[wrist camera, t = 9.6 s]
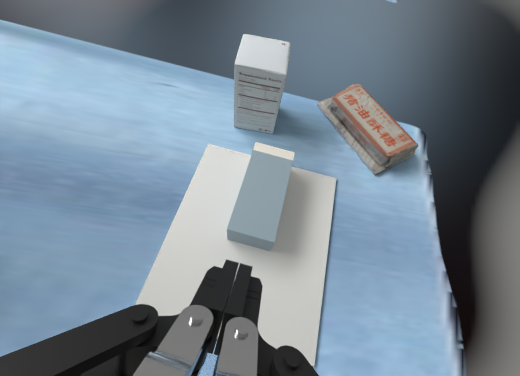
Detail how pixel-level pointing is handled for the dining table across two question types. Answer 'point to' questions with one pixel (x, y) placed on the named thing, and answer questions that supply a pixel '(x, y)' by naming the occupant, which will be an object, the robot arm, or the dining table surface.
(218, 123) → the dining table surface
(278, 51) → the supplement box
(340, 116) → the packaged product
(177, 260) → the mat
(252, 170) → the block
